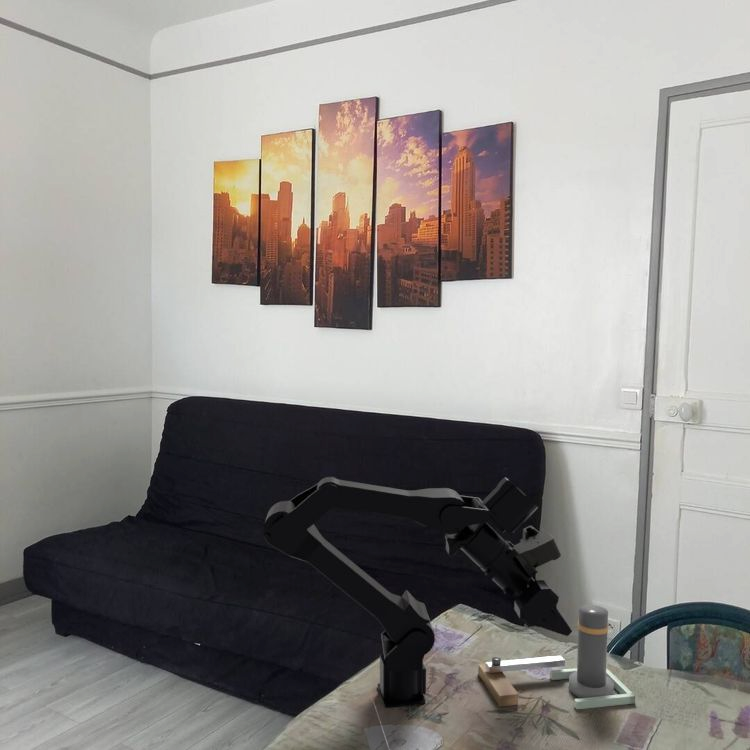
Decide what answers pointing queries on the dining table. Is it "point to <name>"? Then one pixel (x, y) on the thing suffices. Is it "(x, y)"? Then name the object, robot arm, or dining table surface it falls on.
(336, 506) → the robot arm
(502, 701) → the latch rail
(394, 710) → the dining table surface
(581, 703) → the pale green u-shaped bracket
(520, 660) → the lever
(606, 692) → the plug
